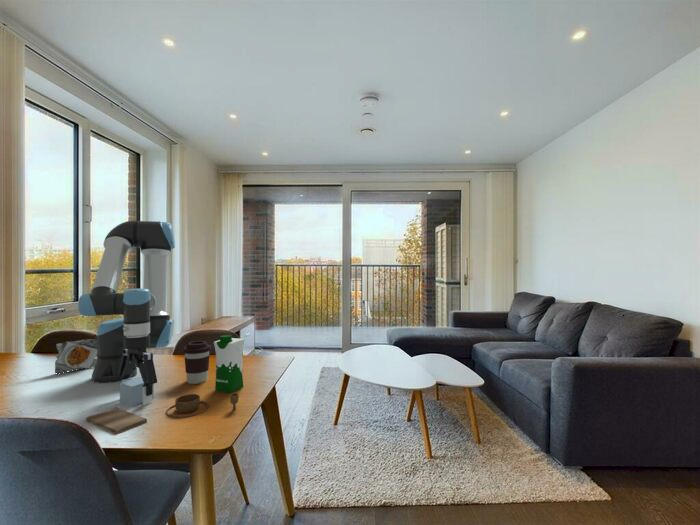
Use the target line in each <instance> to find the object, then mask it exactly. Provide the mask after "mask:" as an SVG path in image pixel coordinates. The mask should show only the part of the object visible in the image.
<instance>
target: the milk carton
mask: <svg viewBox="0 0 700 525" xmlns="http://www.w3.org/2000/svg"><path fill="white" fill-rule="evenodd" d="M244 344H245V338H237V337H232V334H222V335H220V336H219V340H216V341H213V345H214V351H215V383H214V384H215V387H214V388H215V390H214V391H215V392H221V393H226V394H233V393H235V392H236V391H238V390H240V389H242V388H244V377H243V350H244Z"/></svg>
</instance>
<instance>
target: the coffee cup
mask: <svg viewBox="0 0 700 525" xmlns="http://www.w3.org/2000/svg"><path fill="white" fill-rule="evenodd" d="M211 350H212V345H211V344H208V342H207V341H204V340H197V341H196V340H195V341H190V342H189V343H187V344H186V346H184V347H183V348H182V353H183V354H184V365H185V366H184V367H185V373H186V374H185V375H186V383H188V384H190V385H194V384H201V383H204V382H207V380H208V373H209V368H210V351H211Z"/></svg>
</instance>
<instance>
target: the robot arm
mask: <svg viewBox="0 0 700 525" xmlns="http://www.w3.org/2000/svg"><path fill="white" fill-rule="evenodd" d="M174 234H175V233H174V230H173V225H172V223H170V222H168V221H167V222H166V221H161V220H158V221H155V220H154V221H152V220H151V221H149V220H147V221H146V220H128V221H124V222H121V223H120V224H118V225H116V226H114V227H113V228H112V229H111V230H110V231H108V233H107V234H106V236H105V237H104V241H103V248H104V251H103V253H102V257H101V260H100V263H99V265H98V269H97V272H96V274H95V275H96V276H95V278H94V281H93V284H92V287H91V291H90V293H84V294H82V295H80V296H79V298H78V301H77V302H78V303H77V310H78V312H79V314H80V315H81V316H83V317H99V316H114V315H117V316H119V315H122V316H123V317H121V318H115V319H111V320H110V319H109V320H106V321H103V322H101V323H99V324H98V326H97V329H96V330H97V332H96V339H97V356H96V359H97V362H96V365H95V367H93V371H92V372H91V382H92V381H94V382H93V383H95V382H99V383H98V384H108V383H109V382H110V383H116V382H125V381H128V380H132V379H133V378H134V377H136V376H137V375H138V372H139V374H140V377H142V379H143V382H144V385H143V386H142V387H143V403H142V406H147V405H149V404H152V403H153V399H152V386H153V384H157V383H158V379H157V372H156V368H155V364H154V353H153V352H149V353H148V352H147V350H148V349H150V350H151V349H159V348H166V347H168V346H169V345H171V341H172V337H173V332H174V323H175V322H174V319H173V318H171V315H170V313H168V312H167V282H168V281H167V278H168V277H167V275H168V274H167V271H168V270H167V269H168V256H169V255H171V253H172V250H173V249H175V248H176V242H175V235H174ZM132 249H140V254H142V255H143V256H144V258H143V261H144V262H143V288H129V289H125V290H124V292H123V293H122V292H121V293H119V292H118V290H119V286H120V281H121V278H122V273H123V270H124V266H125V263H126V259H127V255H128V254H129V252H131V251H132ZM138 370H139V371H138Z"/></svg>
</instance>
